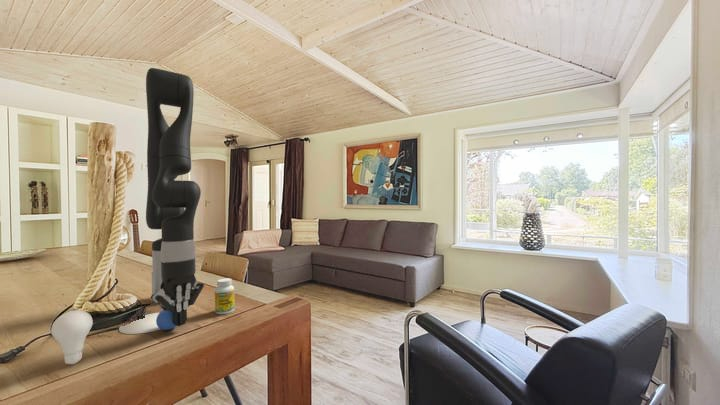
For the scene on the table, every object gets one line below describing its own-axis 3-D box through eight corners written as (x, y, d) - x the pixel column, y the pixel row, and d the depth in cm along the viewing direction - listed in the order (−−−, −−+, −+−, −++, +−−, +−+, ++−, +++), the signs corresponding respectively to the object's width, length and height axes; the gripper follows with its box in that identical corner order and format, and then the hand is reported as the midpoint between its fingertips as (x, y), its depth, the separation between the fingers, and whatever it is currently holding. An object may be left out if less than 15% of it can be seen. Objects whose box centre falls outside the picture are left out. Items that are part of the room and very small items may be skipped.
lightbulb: (71, 356, 63) (69, 306, 63) (101, 355, 64) (100, 305, 64) (42, 373, 57) (41, 317, 57) (76, 371, 58) (75, 316, 57)
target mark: (107, 328, 77) (107, 327, 77) (162, 309, 90) (162, 308, 90) (138, 338, 71) (138, 337, 71) (192, 317, 84) (192, 316, 84)
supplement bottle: (232, 306, 92) (232, 276, 92) (236, 312, 87) (235, 280, 87) (214, 310, 89) (213, 279, 89) (216, 316, 84) (215, 283, 84)
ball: (169, 333, 73) (156, 335, 75) (188, 321, 78) (175, 324, 80) (161, 312, 73) (148, 315, 75) (181, 302, 78) (168, 305, 80)
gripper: (193, 252, 83) (194, 313, 83) (141, 261, 71) (143, 333, 71) (211, 254, 79) (212, 317, 79) (160, 264, 67) (162, 338, 67)
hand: (179, 324), depth 75 cm, fingers closed
